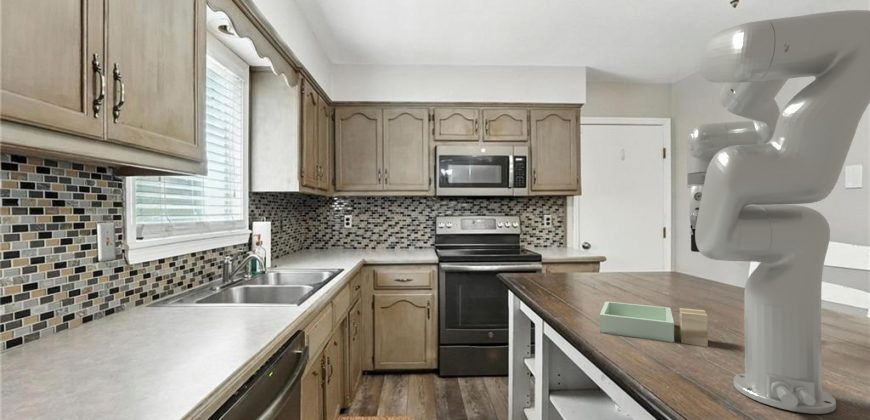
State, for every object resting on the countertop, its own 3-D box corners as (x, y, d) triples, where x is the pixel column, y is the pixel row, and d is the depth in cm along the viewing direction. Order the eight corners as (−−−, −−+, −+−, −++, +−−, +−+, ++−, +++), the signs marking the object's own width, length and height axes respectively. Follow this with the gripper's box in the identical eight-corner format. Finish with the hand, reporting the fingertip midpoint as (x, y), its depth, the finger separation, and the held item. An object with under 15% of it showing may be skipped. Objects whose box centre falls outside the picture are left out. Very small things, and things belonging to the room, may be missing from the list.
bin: (674, 342, 91) (674, 323, 91) (599, 332, 98) (599, 314, 98) (670, 324, 105) (670, 307, 105) (605, 316, 112) (605, 301, 112)
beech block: (707, 346, 88) (707, 315, 88) (681, 343, 90) (681, 312, 90) (704, 339, 92) (704, 310, 92) (679, 336, 95) (679, 308, 95)
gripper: (711, 178, 87) (712, 254, 87) (734, 181, 98) (735, 249, 98) (674, 180, 93) (675, 251, 93) (700, 183, 104) (700, 247, 104)
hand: (706, 250), depth 96 cm, fingers open, 9 cm apart
